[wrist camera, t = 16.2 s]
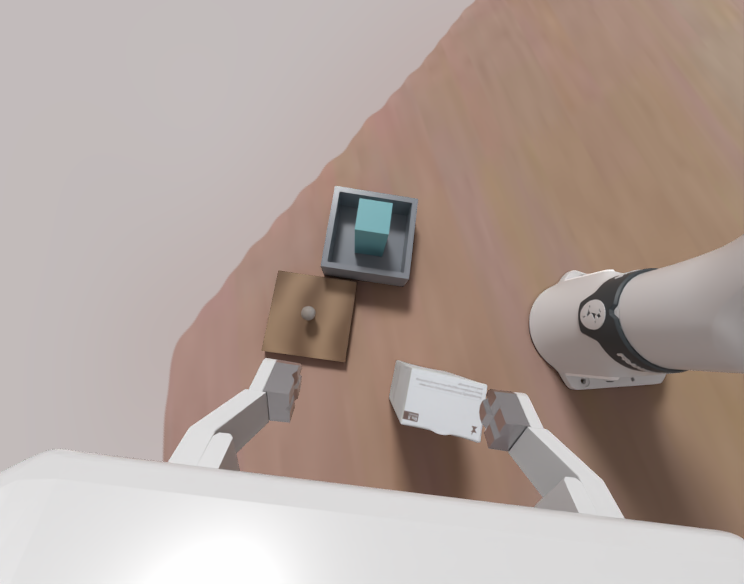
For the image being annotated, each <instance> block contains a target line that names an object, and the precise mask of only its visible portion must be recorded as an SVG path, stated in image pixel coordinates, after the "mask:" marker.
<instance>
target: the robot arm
mask: <svg viewBox="0 0 744 584" xmlns="http://www.w3.org/2000/svg"><path fill="white" fill-rule="evenodd" d="M529 326H530V333H531V337H532V340H533V343H534V345H535V347H536V349H537V350H538V352H539V353H540V355H541V356H542V357H543V358H544V359H545V360H546V361H547V362H548V363H549V364H550V365H551V366H553V367H554V368H555V369H556V370H557V371H558V372H559V374H560V376H561V378H562V380H563V381H564V383H565V384H566V386H567V387H568V388H570V389H573V390H583V389H597V388H610V387H624V386H638V385H651V384H659V383H661V382H662V381H663V379H664V378H665V376H666V374H671V373H680V372H684V371H688V370H693V371H710V372H727V373H744V234H743V235H741V236H740V237H738V238H737V239H735V240H734V241H732V242H730V243H728V244H727V245H725V246H723V247H720V248H718V249H716V250H713V251H711V252H708V253H705V254H703V255H700V256H697V257H695V258H692V259H689V260H686V261H683V262H680V263H676V264H673V265H670V266H666V267H663V268H659V269H657V268H649V269H642V270H634V271H630V272H626V273H619V272H615V271H614V270H604V271H599V272H595V273H591V274H585V273H582V272H579V271H575V270H574V271H569V272H567V273H566V274H565V275H564V276H563V277H562V278H561V280H560V281H559V283H557V284H556V285H554V286H552V287H550V288H548V289H546V290H545V291H544V292H542V293H541V294H540V295H539V296H538V298H537V299H536V301H535V302H534V304H533V306H532V309H531V313H530V319H529ZM301 369H302V366H301V363H295V362H289V361H283V360H276V359H270V358H265V359H264V360H263V362H262V364H261V366H260V368H259V370H258V372H257V374H256V376H255V378H254V380H253V382H252V384H251V386H250V388H249V390H247V389H245V390H243V391H242V392H240V393H239V394H237V395H236V396H234V397H233V398H232V399H230V400H229V401H227V402H226V403H224V404H223V405H221V406H220V407H218V408H217V409H216V410H214V411H213V412H211V413H210V414H208V415H207V416H205V417H204V418H203V419H201V420H200V421H198V422H197V423H195V424H194V425H192V426H191V427H190V428H189V429H188V431H187V432H186V434H185V436H184V437H183V439H182V440H181V442H180V444H179V445H178V447H177V448H176V450H175V452H174V453H173V455H172V456H171V458H170V460H169V461H168V462H161V461H153V460H145V459H136V458H128V457H120V456H112V455H105V454H97V453H88V452H80V451H73V450H64V449H52V450H48V451H44V452H42V453H40V454H37V455H35V456H33V457H30V458H28V459H26V460H24V461H22V462H20V463H18V464H16V465H14V466H12V467H9V468H8V469H5V470H3V471H1V472H0V584H744V539H743V538H741V537H739V536H737V535H735V534H733V533H730V532H726V531H721V530H713V529H705V528H697V527H688V526H680V525H672V524H664V523H656V522H648V521H640V520H632V519H625V518H624V517H623V515H622V513H621V511H620V509H619V508H618V506H617V504H616V502H615V501H614V499H613V497H612V495H611V494H610V492H609V490H608V488H607V487H606V485H605V483H604V481H603V480H602V479H601V478H600V477H599V476H598V475H596V474H595V473H594V472H593V471H592V470H591V469H590V468H589V467H588V466H587V465H586V464H584V463H583V462H582V461H581V460H580V459H579V458H578V457H577V456H576V455H575V454H574V453H572V452H571V451H570V450H569V449H568V448H567V447H566V446H565V445H564V444H563V443H562V442H560V441H559V440H558V439H557V438H556V437H555V436H554V435H553V434H552V433H551V432H550V431H548V430H547V429H544V428H543V426H542V424H541V422H540V420H539V418H538V416H537V414H536V412H535V409H534V407H533V405H532V403H531V401H530V399H529V397H528V396H527V395H526V394H524V393H517V392H511V391H503V390H495V389H490V390H488V392H487V394H486V396H487V399H485V400H483V401H482V403H481V405H480V409H479V416H480V420H481V423H482V424H483V425H484V426H485V428H486V430H485V432H484V434H485V438H486V441H487V445H488V448H490V449H496V450H503V451H509V452H508V453H509V454H510V455H511V457H512V458H513V459H514V461H515V462H516V463H517V464H518V466H519V467H520V468H521V470H522V471H523V472H524V473H525V475H526V476H527V477H528V479H529V480H530V481H531V482H532V484H533V485H534V486H535V488H536V489H537V490H538V492H539V493H540V494H541V495H542V497H543V498H542V499H541V500H540V501H539V502H538V503H537V504H536V505H535V506H534V507H526V506H518V505H509V504H501V503H493V502H485V501H477V500H469V499H461V498H453V497H445V496H437V495H429V494H421V493H413V492H405V491H396V490H388V489H380V488H372V487H364V486H356V485H348V484H339V483H331V482H323V481H315V480H307V479H299V478H291V477H283V476H274V475H266V474H258V473H250V472H242V471H240V468H239V464H238V459H237V455H236V453H237V452H238V451H239V450H240V449H241V448H242V447H243V446H244V445H245V444H246V443H247V442H248V441H250V440H251V439H252V438H253V437H254V436H255V435H256V434H257V433H258V432H259V431H260V430H261V429H262V428H263V427H264V426H265V425H266V424H267V423H268V422H269V420H270V421H280V422H290V421H291V417H292V414H293V411H294V408H295V400H296V399H298V395H299V392H300V387H301V378H302V376H301V375H300V373H301ZM581 379H582V381H583V382H582V383H581Z"/></svg>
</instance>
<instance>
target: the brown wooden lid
mask: <svg viewBox="0 0 744 584" xmlns="http://www.w3.org/2000/svg"><path fill="white" fill-rule="evenodd" d="M356 287H357V282H353V281H346V280H340V279H333V278H326V277H319V276H312V275H306V274H299V273H292V272H285V271H278V275H277V280H276V284H275V289H274V294H273V299H272V303H271V308H270V313H269V317H268V322H267V327H266V332H265V336H264V341H263V346H262V351H267V352H274V353H281V354H289V355H296V356H303V357H310V358H318V359H325V360H332V361H339V362H345V360H346V353H347V347H348V340H349V334H350V327H351V320H352V314H353V307H354V300H355V294H356Z"/></svg>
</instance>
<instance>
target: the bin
mask: <svg viewBox="0 0 744 584" xmlns="http://www.w3.org/2000/svg"><path fill="white" fill-rule="evenodd" d="M360 198H362V199H368V200H375V201H381V202H388V203H393V206H392V213H391V221H390V229H389V235H388V239H387V242H386V245H385V249H384V252H383V255H382V257H380V256H374V255H367V254H360V253H355V224H356V218H357V212H358V205H359V199H360ZM417 204H418V199H415V198H409V197H403V196H396V195H390V194H384V193H377V192H371V191H365V190H358V189H352V188H346V187H339V186H335V189H334V195H333V200H332V206H331V212H330V217H329V223H328V228H327V234H326V239H325V245H324V250H323V256H322V261H321V268H322V271H323V273H324V275H327V276H334V277H341V278H347V279H354V280H361V281H368V282H375V283H381V284H388V285H395V286H402V287H403V286H404V285H405V284H406V282H407V281H408V280H409V274H410V265H411V257H412V248H413V239H414V230H415V221H416V213H417Z"/></svg>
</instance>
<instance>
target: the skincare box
mask: <svg viewBox="0 0 744 584" xmlns="http://www.w3.org/2000/svg"><path fill="white" fill-rule="evenodd" d="M486 392H487V385H486V384H483V383H479V382H476V381H472V380H470V379H467V378H464V377H461V376H458V375H455V374H452V373H449V372H446V371H440V370H434V369H430V368H425V367H421V366H417V365H413V364H409V363H405V362H402V361H399V360H396V365H395V369H394V375H393V379H392V384H391V389H390V394H389V399H390V401H391V403H392V406H393V408H394V410H395V412H396V414H397V417H398V419H399V421H400V423H401V424H402V425H407V426H412V427H417V428H422V429H426V430H430V431H433V432H435V433H437V434H440V435H452V436H457V437H461V438H465V439H468V440H471V441H474V442H478V443H479V442H480V441H481V432H482V425H483V424H482V423H481V420H480V416H479V409H480V405H481V403H482V401H483V400H485V398H486Z"/></svg>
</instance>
